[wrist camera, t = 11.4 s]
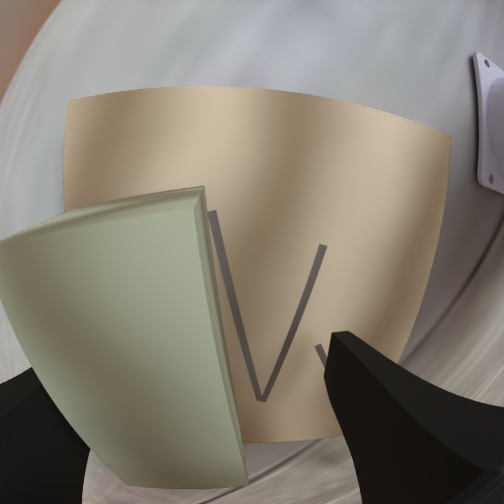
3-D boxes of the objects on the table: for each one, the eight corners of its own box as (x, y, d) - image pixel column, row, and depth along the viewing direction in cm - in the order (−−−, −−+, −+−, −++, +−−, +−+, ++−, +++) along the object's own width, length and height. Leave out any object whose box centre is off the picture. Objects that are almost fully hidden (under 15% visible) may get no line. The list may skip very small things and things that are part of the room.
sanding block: (204, 185, 8) (193, 209, 4) (234, 391, 11) (249, 485, 7) (80, 206, 8) (-15, 248, 3) (142, 397, 11) (126, 484, 6)
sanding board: (430, 136, 9) (451, 135, 8) (354, 416, 15) (361, 432, 13) (87, 106, 9) (68, 100, 7) (124, 409, 14) (118, 426, 12)
